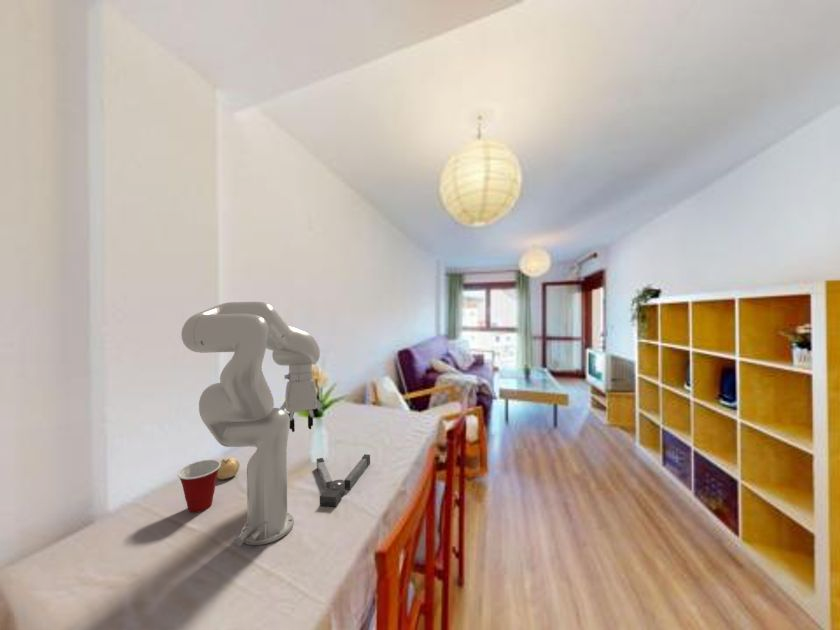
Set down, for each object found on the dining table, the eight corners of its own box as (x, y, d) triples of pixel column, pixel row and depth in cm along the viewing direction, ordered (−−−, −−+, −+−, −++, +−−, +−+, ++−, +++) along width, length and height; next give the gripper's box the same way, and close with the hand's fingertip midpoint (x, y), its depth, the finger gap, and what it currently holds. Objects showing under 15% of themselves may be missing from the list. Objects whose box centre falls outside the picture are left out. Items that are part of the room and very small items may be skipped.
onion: (208, 479, 115) (208, 459, 115) (230, 470, 122) (230, 451, 122) (223, 484, 112) (223, 463, 112) (244, 474, 119) (244, 454, 119)
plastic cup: (172, 522, 90) (171, 478, 90) (183, 502, 100) (183, 463, 100) (217, 513, 94) (217, 470, 94) (224, 495, 104) (224, 457, 104)
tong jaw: (346, 496, 102) (346, 484, 102) (328, 500, 99) (328, 488, 99) (331, 465, 124) (331, 455, 124) (316, 468, 122) (316, 458, 122)
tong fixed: (337, 507, 95) (337, 495, 95) (319, 506, 96) (319, 494, 96) (370, 463, 125) (370, 454, 125) (356, 462, 126) (356, 454, 126)
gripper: (274, 381, 107) (275, 437, 106) (327, 376, 115) (328, 428, 114) (273, 377, 114) (274, 430, 113) (323, 373, 121) (324, 422, 121)
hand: (301, 429), depth 114 cm, fingers open, 4 cm apart
